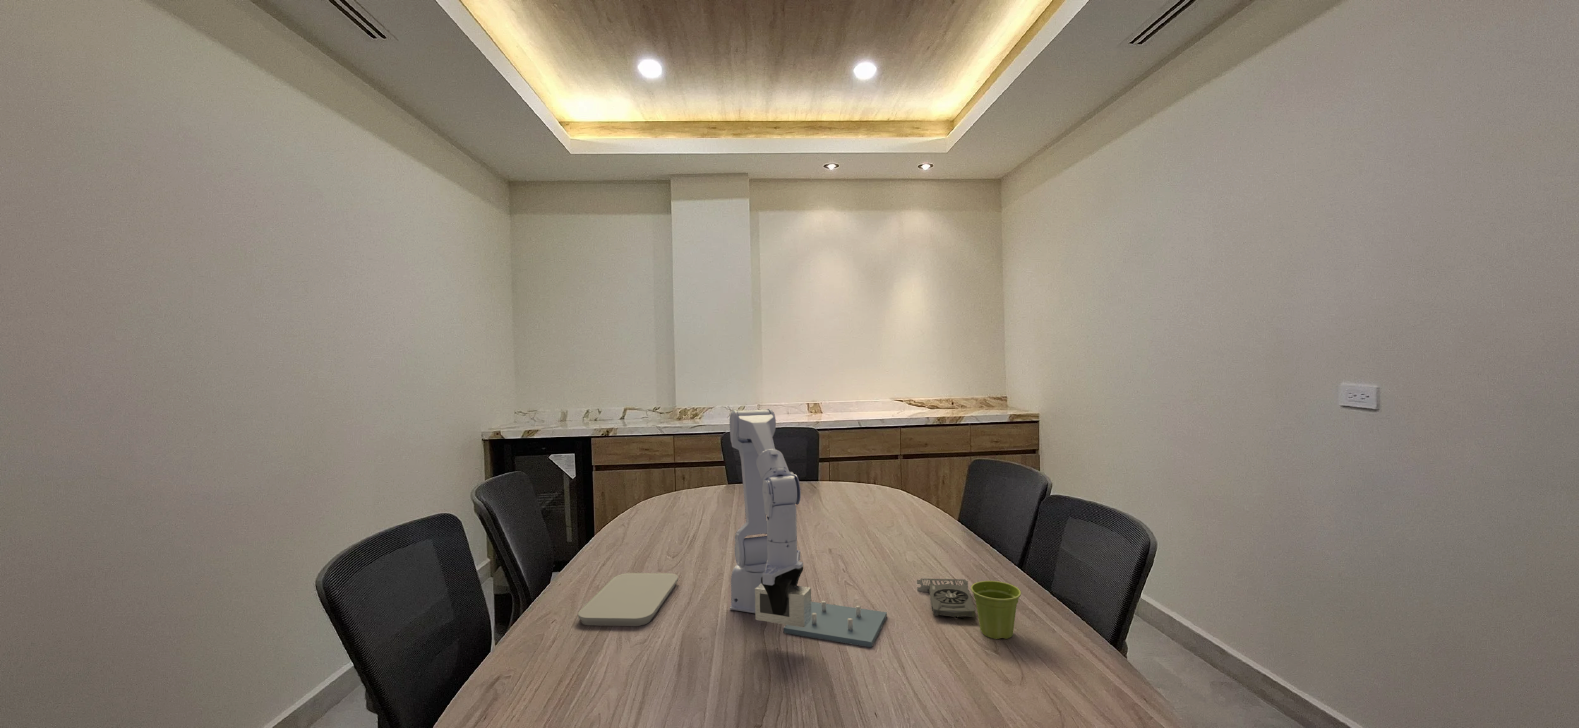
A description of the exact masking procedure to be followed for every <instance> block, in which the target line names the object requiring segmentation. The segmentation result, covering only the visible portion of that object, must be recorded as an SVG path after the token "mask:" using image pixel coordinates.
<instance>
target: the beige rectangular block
mask: <svg viewBox="0 0 1579 728" xmlns="http://www.w3.org/2000/svg"><path fill="white" fill-rule="evenodd" d="M811 602H812V587H809V586H803V585H797V586H796V585H789V588H788V592H787V597H786V608H785V612H784V615H776V614H773V612H772V608H771V604H770V601H769V597H768V594H767V592H766V590H765V588H764V586H763V585H762V583H761V584H760V585H759V586H758V587H756V588H755V613H754V614H755V620H756V621H760V622H766V623H767V622H768V623H772V624H780V625H785V626H786V625H791V626H797V627H804V628H805V626H806V625H807V624H808V622H809V621H810V620H811V619H812V618H811Z"/></svg>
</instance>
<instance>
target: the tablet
mask: <svg viewBox="0 0 1579 728" xmlns="http://www.w3.org/2000/svg"><path fill="white" fill-rule="evenodd" d="M678 581H679V576H678V574H675V573H671V572H670V573H669V572H667V573H666V572H665V573H664V572H660V573H659V572H626V573H621V574H618V575H615V576H614V577H613V578H611V580H610V581H608V582H607V583H606V584H605V585H604V586H603V587H602V588H601V589H600V590H599V591H598V592H597V593H596V594H595V595H594V596H593V597H592V598H591V599H590V600H589V601H588V602H587V603H586V604H585V605H584V606H583V607H582V608H581V609H580V610H579V611H578V613H577V618H578V619H579V620H581V624H582V625H585V626H607V627H608V626H616V627H618V626H619V627H621V626H622V627H639V626H645V625H646V624H648V623H650V622H651V621H652V619H653V618H654V616H655V615H656V614H657V612H658V611H659V610H660V608H661V607H662V605H663V604H664V602H665V601H666V600H667V598H668V597H669V595H670V594H671V593H672V591H673V589H674V588H675V587H676V584H677V582H678Z"/></svg>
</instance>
